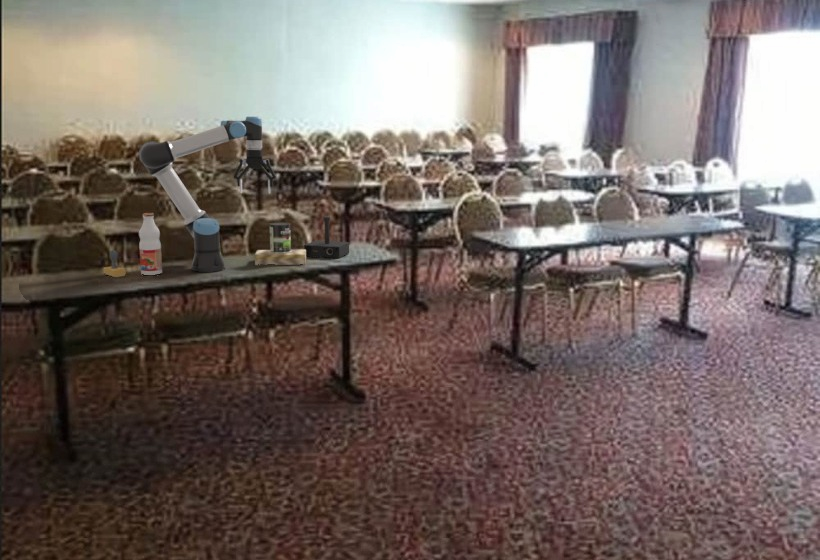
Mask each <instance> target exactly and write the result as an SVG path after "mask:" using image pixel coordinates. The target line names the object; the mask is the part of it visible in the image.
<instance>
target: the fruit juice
mask: <svg viewBox="0 0 820 560" xmlns="http://www.w3.org/2000/svg"><path fill="white" fill-rule="evenodd" d="M154 217H155V214H154V212H145V213H142V218H143V221H142V225H141V227H140V229H139V231H138V237H139V239H140V241H139V244H138V245H139V246H138V247H139V261H140V264H139V265H140V273H141V275H142V274H144V275H155V274H160V273H162V274H163V261H162V257H163V256H162V244H161V241H160V236H161V232H160V229H159V228H158V226H157V225H156V223H155V221H154V219H155V218H154Z"/></svg>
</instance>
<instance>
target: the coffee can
mask: <svg viewBox="0 0 820 560" xmlns="http://www.w3.org/2000/svg"><path fill="white" fill-rule="evenodd" d="M268 226H269V250H270V253H274V254H285V253H290V252H291V250H292V243H291V242H292V239H291V238H292V237H291V236H292V235H291V231H292V230H291V222H285V221H284V222H283V221H282V222H280V221H279V222H270V223H269V224H268Z"/></svg>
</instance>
